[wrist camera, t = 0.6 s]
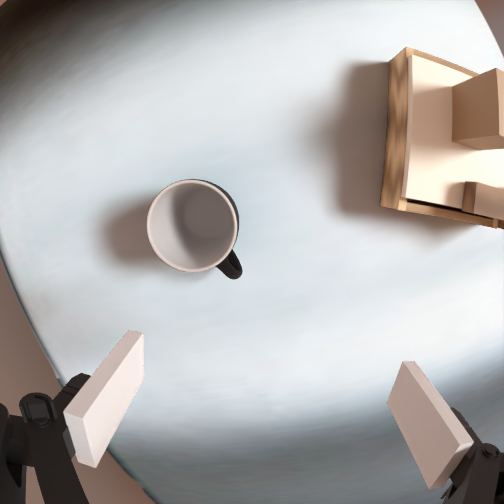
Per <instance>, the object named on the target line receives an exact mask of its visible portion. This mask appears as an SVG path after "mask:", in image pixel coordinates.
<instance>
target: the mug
mask: <svg viewBox="0 0 504 504" xmlns="http://www.w3.org/2000/svg"><path fill="white" fill-rule="evenodd" d="M146 228H147V235H148V239H149V242H150V244H151V246H152V248H153V250H154V252H155V253H156V254H157V256H158V257H159V258H160V259H161V260H162V261H163V262H165V263H166V264H167V265H169V266H171V267H173V268H175V269H177V270H180V271H184V272H201V271H205V270H208V269H211V268H213V267H217V268H218V269H219V270H221V271H222V272H223V273H224V274H225V275H226V276H227V277H228V278H230V279H237V278H239V277H240V276H241V275H242V267H241V264H240V262H239V260H238V258H237V256H236V254H235V253H234V251H233V249H232V248H233V246H234V244H235V242H236V239H237V235H238V230H239V215H238V211H237V207H236V205H235V203H234V201H233V199H232V198H231V196H230V195H229V194H228V193H227V192H226V191H225V190H224V189H222V188H221V187H219V186H217V185H216V184H213V183H211V182H208V181H204V180H198V179H187V180H181V181H178V182H175V183H173V184H171V185H169V186H167V187H166V188H164V189H163V190H162V191H161V192H160V193H159V194H158V195H157V196H156V197H155V199H154V200H153V202H152V204H151V206H150V208H149V211H148V215H147V222H146Z"/></svg>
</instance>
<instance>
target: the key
mask: <svg viewBox="0 0 504 504" xmlns="http://www.w3.org/2000/svg"><path fill="white" fill-rule="evenodd" d="M462 211H465V212H469V213H474V214H478V215H483V216H487V217H491V218H496V219H500V220H504V190H502V189H499V188H496V187H493V186H489V185H486V184H483V183H479V182H470V181H465V186H464V196H463V204H462Z"/></svg>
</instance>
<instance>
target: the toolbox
mask: <svg viewBox="0 0 504 504" xmlns="http://www.w3.org/2000/svg"><path fill="white" fill-rule="evenodd" d="M411 55H415V56H418V57H421V58H424V59H427V60H430V61H433V62H436V63H439V64H441V65H444V66H447V67H449V68H452V69H454V70H457V71H459V72H462V73H464V74H467V75H469V76H471V77H475V76H478V75H479V74H477V73H475V72H473V71H470V70H468V69H466V68H463V67H461V66H458V65H456V64H454V63H451V62H448V61H446V60H443V59H441V58H438V57H435V56H432V55H430V54H427V53H424V52H421V51H418V50H415V49H412V48H408V47H405V48H404V49H403V50H402V51H401V52H400V53H398V54H397V55H396V56H395V57H394V58H393V59H391V60H390V61H389V92H388V118H387V135H386V149H385V161H384V171H383V181H382V190H381V199H380V206H384V207H388V208H392V209H396V210H401V211H408V212H413V213H419V214H425V215H431V216H436V217H442V218H447V219H452V220H458V221H463V222H468V223H473V224H478V225H482V226H487V227H492V228H497V227H498V228H501V229H504V220H500V219H496V218H491V217H487V216H483V215H478V214H474V213H469V212H465V211H462V209H460V208H456V207H451V206H446V205H441V204H436V203H431V202H426V201H421V200H415V199H410V198H405V197H401V194H402V185H403V176H404V165H405V153H406V139H407V119H408V57H409V56H411Z"/></svg>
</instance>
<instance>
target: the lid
mask: <svg viewBox="0 0 504 504" xmlns="http://www.w3.org/2000/svg"><path fill="white" fill-rule="evenodd" d="M465 181H470V182H479V183H483V184H486V185H489V186H493V187H496V188H499V189H502V190H504V72H503V71H501V70H499V69H497V68H495V69H492V70H490V71H487V72H485V73H482V74H480V75H478V76H475V77H471V76H469V75H467V74H464V73H462V72H459V71H457V70H454V69H452V68H449V67H447V66H444V65H441V64H439V63H436V62H433V61H430V60H427V59H424V58H421V57H418V56H415V55H411V56H409V57H408V119H407V139H406V153H405V165H404V176H403V185H402V194H401V197H405V198H410V199H415V200H421V201H426V202H431V203H436V204H441V205H446V206H451V207H456V208H460V209H462V204H463V196H464V186H465Z"/></svg>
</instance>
